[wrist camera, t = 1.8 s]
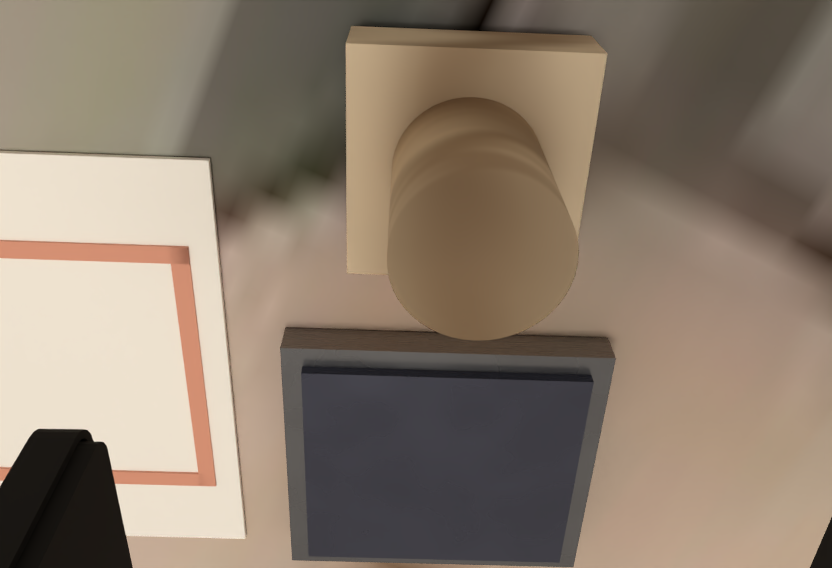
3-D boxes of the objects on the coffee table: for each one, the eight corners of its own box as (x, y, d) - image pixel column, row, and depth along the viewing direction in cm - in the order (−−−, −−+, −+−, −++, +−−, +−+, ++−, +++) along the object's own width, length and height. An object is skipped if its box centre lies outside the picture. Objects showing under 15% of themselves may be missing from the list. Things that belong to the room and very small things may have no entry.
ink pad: (607, 338, 27) (618, 365, 25) (568, 542, 32) (575, 575, 30) (285, 327, 27) (278, 354, 25) (296, 536, 31) (290, 568, 30)
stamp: (584, 27, 22) (664, 117, 15) (554, 234, 25) (609, 388, 18) (353, 18, 22) (326, 104, 15) (353, 227, 25) (331, 380, 18)
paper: (210, 158, 23) (207, 161, 23) (246, 534, 31) (244, 540, 31) (-196, 143, 23) (-204, 147, 23) (-56, 527, 31) (-60, 533, 31)
